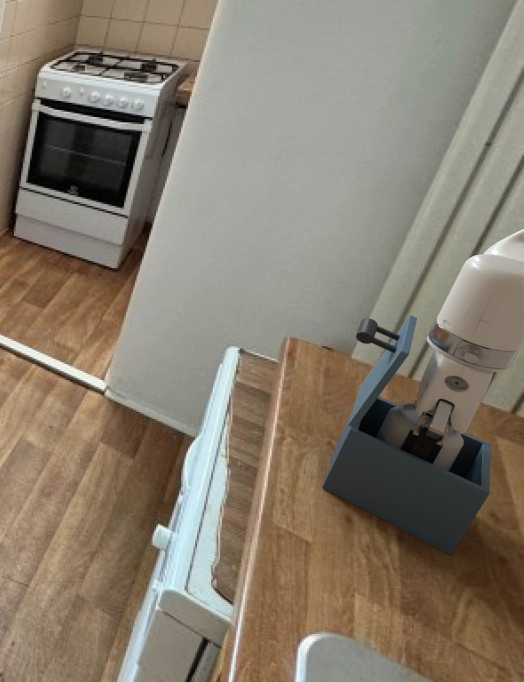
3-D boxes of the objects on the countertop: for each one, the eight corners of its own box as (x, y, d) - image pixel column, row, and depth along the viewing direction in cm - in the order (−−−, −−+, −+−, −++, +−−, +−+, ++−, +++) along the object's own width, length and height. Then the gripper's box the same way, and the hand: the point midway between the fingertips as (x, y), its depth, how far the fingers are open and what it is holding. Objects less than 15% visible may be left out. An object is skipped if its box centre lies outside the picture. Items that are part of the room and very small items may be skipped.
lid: (417, 317, 87) (372, 299, 91) (409, 354, 80) (360, 332, 83) (366, 388, 94) (326, 369, 97) (354, 428, 86) (311, 406, 90)
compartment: (455, 502, 89) (491, 443, 85) (450, 555, 82) (489, 493, 77) (335, 445, 98) (362, 389, 94) (321, 487, 91) (350, 429, 87)
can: (439, 485, 88) (474, 423, 83) (426, 511, 84) (462, 447, 80) (371, 449, 94) (401, 390, 89) (356, 472, 90) (386, 411, 85)
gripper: (514, 391, 72) (452, 496, 78) (513, 330, 82) (458, 427, 89) (425, 358, 77) (374, 459, 83) (435, 305, 88) (389, 398, 94)
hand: (417, 442), depth 86 cm, fingers closed on can, 7 cm apart
